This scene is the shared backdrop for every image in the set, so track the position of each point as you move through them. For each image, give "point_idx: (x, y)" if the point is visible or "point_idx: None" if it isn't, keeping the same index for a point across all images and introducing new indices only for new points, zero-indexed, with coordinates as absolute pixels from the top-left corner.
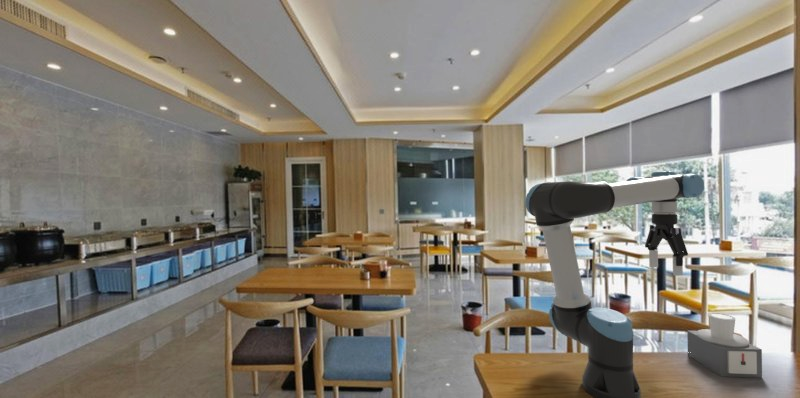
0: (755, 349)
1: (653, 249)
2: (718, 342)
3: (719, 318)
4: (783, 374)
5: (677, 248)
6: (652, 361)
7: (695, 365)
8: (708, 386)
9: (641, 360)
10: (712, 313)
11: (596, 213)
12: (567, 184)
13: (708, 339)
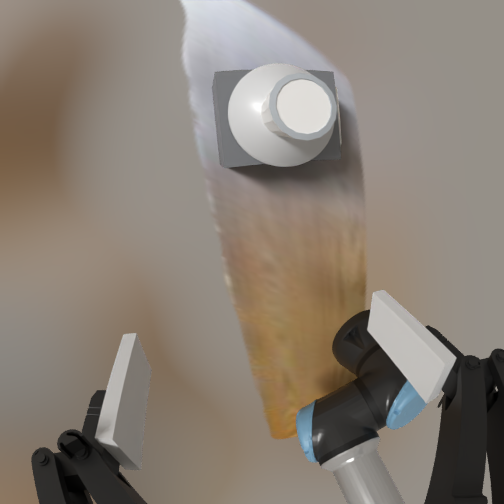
0: (334, 84)
1: (109, 459)
2: (322, 148)
3: (328, 129)
4: (286, 38)
5: (490, 419)
6: (267, 254)
7: (274, 176)
8: (352, 203)
9: (266, 273)
10: (279, 116)
11: None
12: None
13: (307, 161)
